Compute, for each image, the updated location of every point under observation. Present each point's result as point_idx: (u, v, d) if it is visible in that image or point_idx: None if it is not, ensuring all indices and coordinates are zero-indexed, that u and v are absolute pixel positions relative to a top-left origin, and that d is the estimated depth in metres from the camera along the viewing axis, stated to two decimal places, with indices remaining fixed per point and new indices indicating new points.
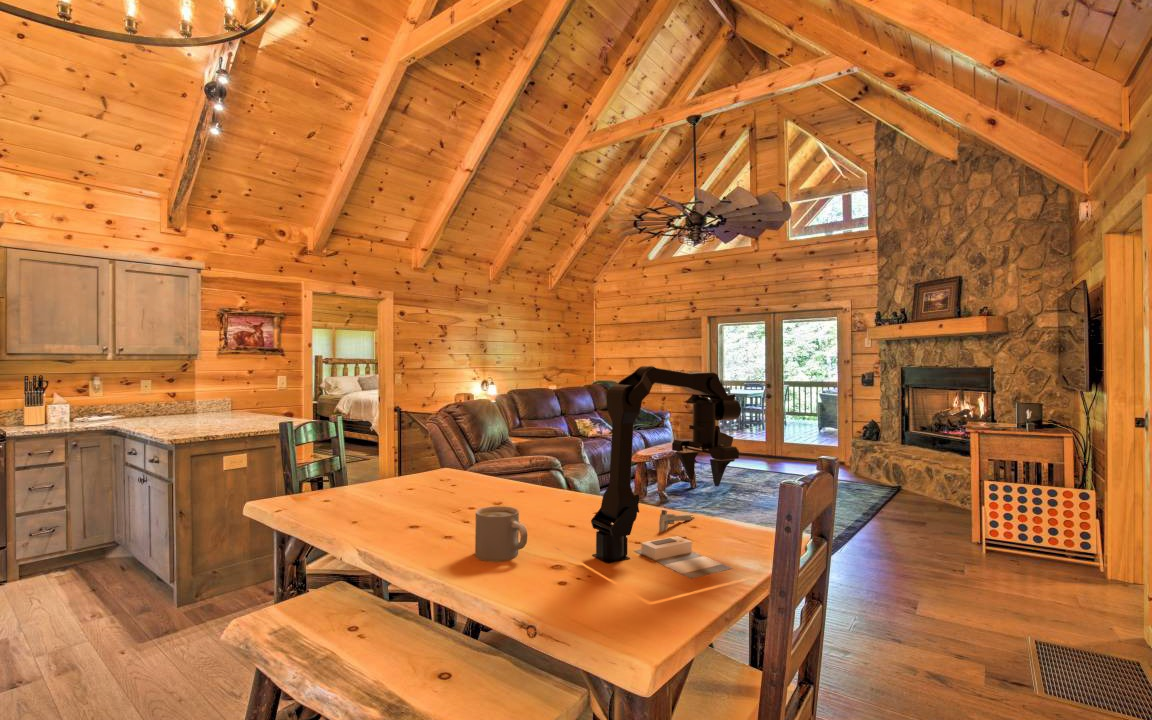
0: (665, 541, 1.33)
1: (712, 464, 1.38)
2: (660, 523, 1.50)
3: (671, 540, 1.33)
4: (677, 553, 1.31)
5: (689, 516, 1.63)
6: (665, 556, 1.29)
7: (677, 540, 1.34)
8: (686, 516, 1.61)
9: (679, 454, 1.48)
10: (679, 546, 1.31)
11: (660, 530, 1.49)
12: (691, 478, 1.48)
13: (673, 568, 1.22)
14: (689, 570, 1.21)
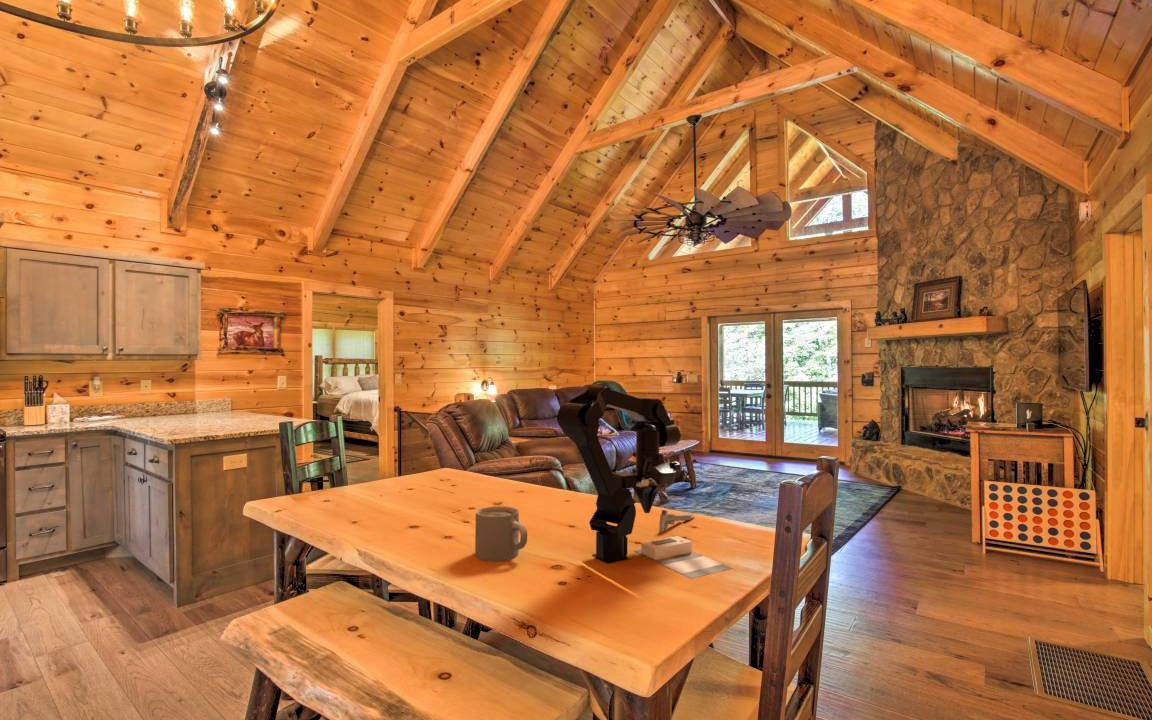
0: (665, 541, 1.33)
1: None
2: (660, 523, 1.50)
3: (671, 540, 1.33)
4: (677, 553, 1.31)
5: (689, 516, 1.63)
6: (665, 556, 1.29)
7: (677, 540, 1.34)
8: (686, 516, 1.61)
9: None
10: (679, 546, 1.31)
11: (660, 530, 1.50)
12: None
13: (673, 568, 1.22)
14: (689, 570, 1.21)
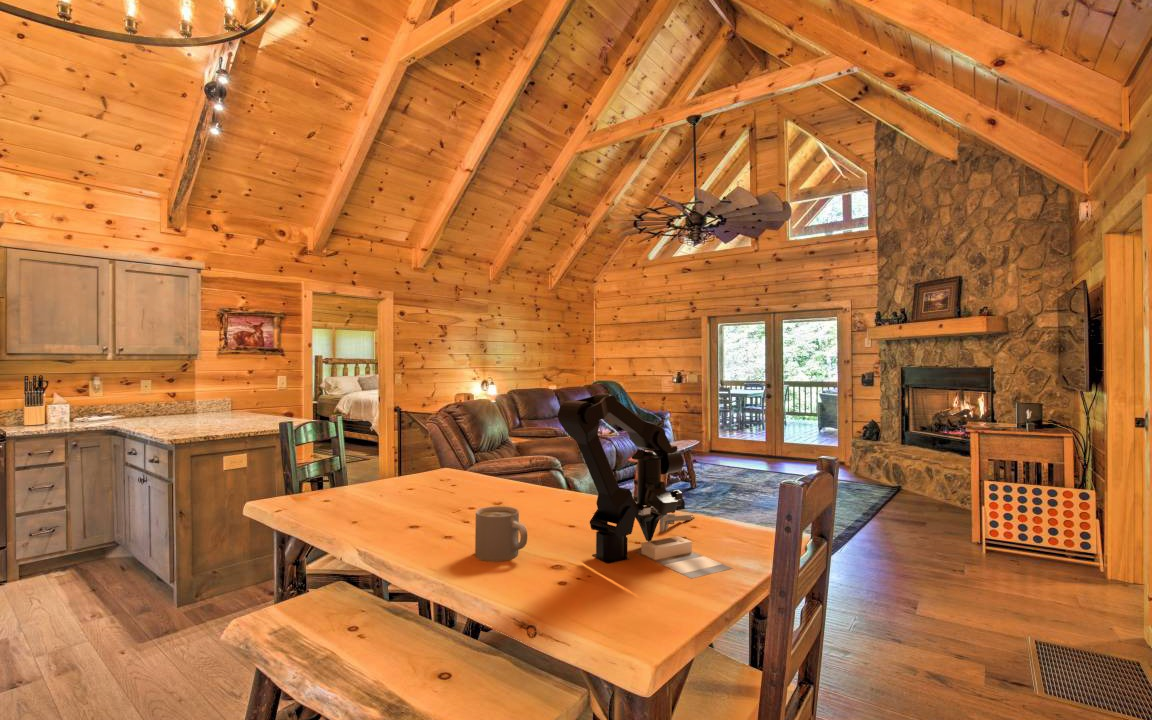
0: (665, 541, 1.33)
1: None
2: (660, 523, 1.50)
3: (671, 540, 1.33)
4: (677, 553, 1.31)
5: (689, 516, 1.63)
6: (665, 556, 1.29)
7: (677, 540, 1.34)
8: (686, 516, 1.61)
9: None
10: (679, 546, 1.31)
11: (660, 530, 1.50)
12: None
13: (673, 568, 1.22)
14: (689, 570, 1.21)
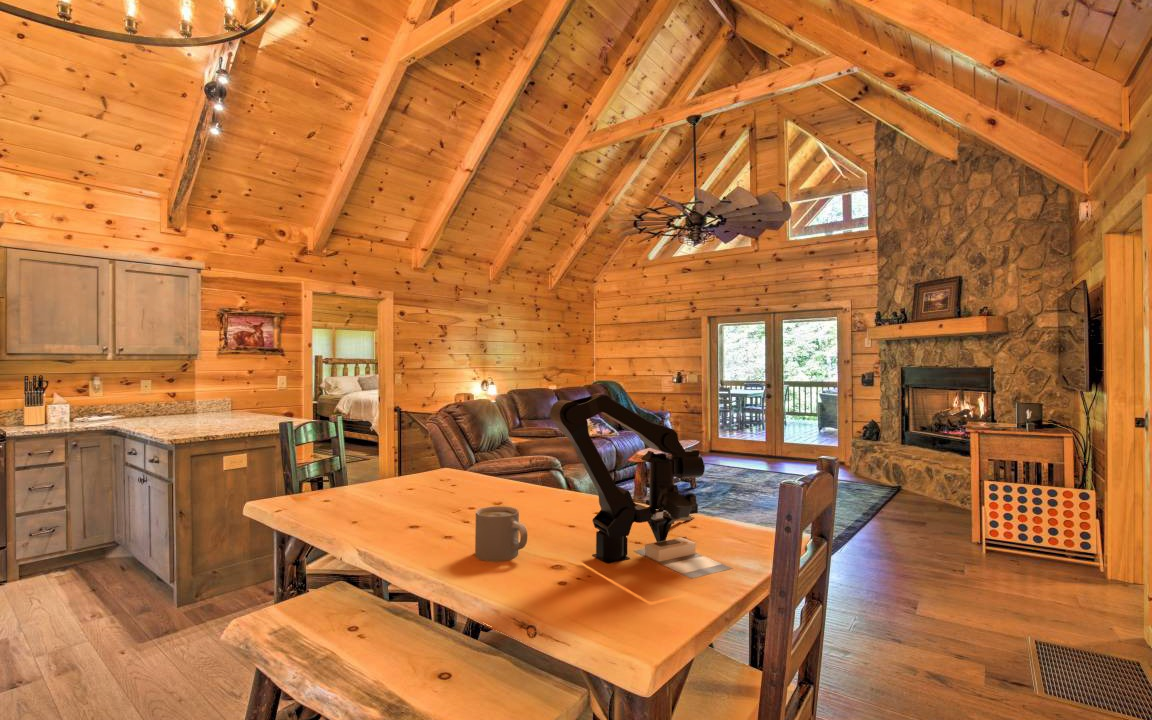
0: (669, 542, 1.32)
1: None
2: None
3: (675, 541, 1.32)
4: (681, 554, 1.30)
5: (689, 516, 1.63)
6: (669, 558, 1.28)
7: (681, 541, 1.33)
8: None
9: None
10: (683, 547, 1.30)
11: None
12: None
13: (673, 568, 1.22)
14: (689, 570, 1.21)
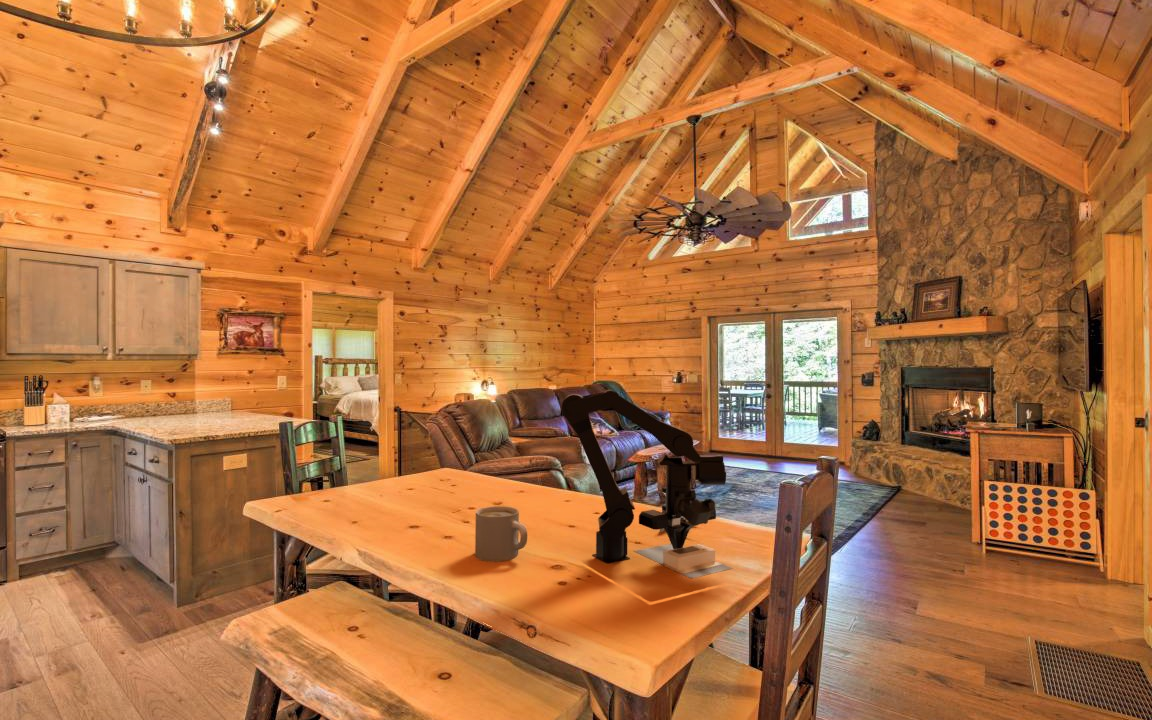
0: (688, 549, 1.27)
1: None
2: None
3: (694, 548, 1.27)
4: (701, 562, 1.25)
5: None
6: (689, 566, 1.23)
7: (700, 548, 1.28)
8: None
9: None
10: (703, 555, 1.25)
11: (660, 530, 1.50)
12: None
13: (673, 568, 1.22)
14: (689, 570, 1.21)
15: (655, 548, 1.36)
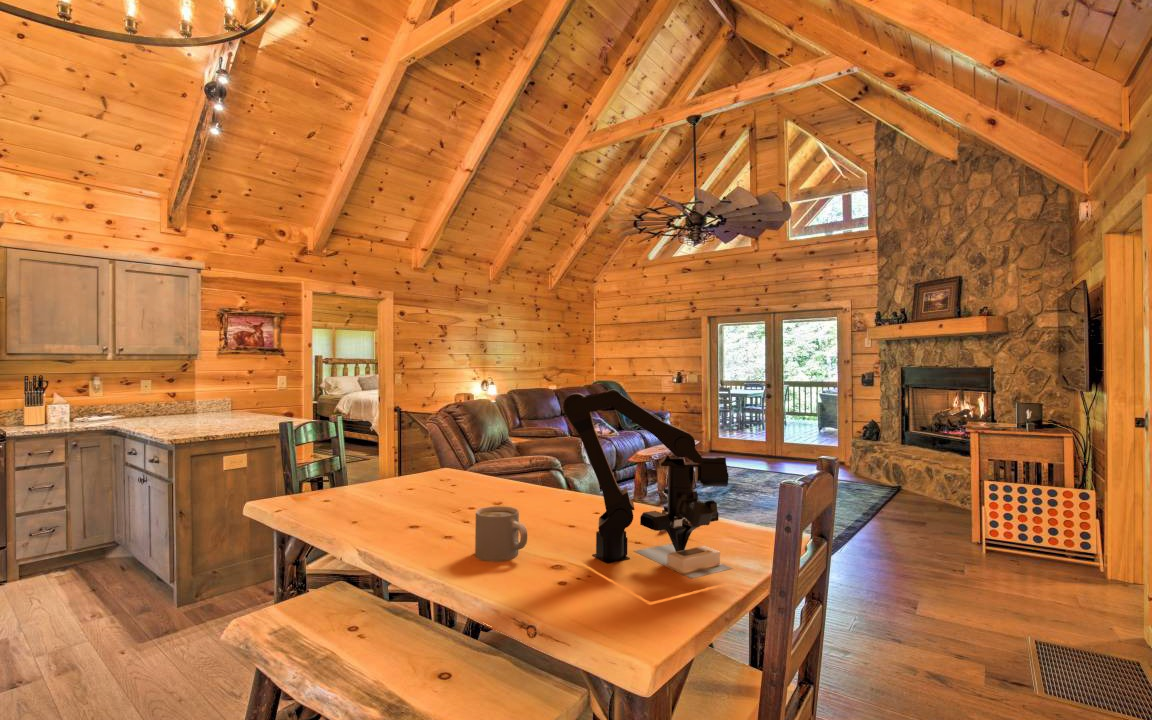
0: (692, 551, 1.25)
1: None
2: None
3: (698, 550, 1.26)
4: (705, 564, 1.24)
5: None
6: (693, 568, 1.22)
7: (704, 550, 1.27)
8: None
9: None
10: (708, 557, 1.24)
11: (661, 530, 1.50)
12: None
13: (673, 568, 1.22)
14: None
15: (655, 548, 1.36)
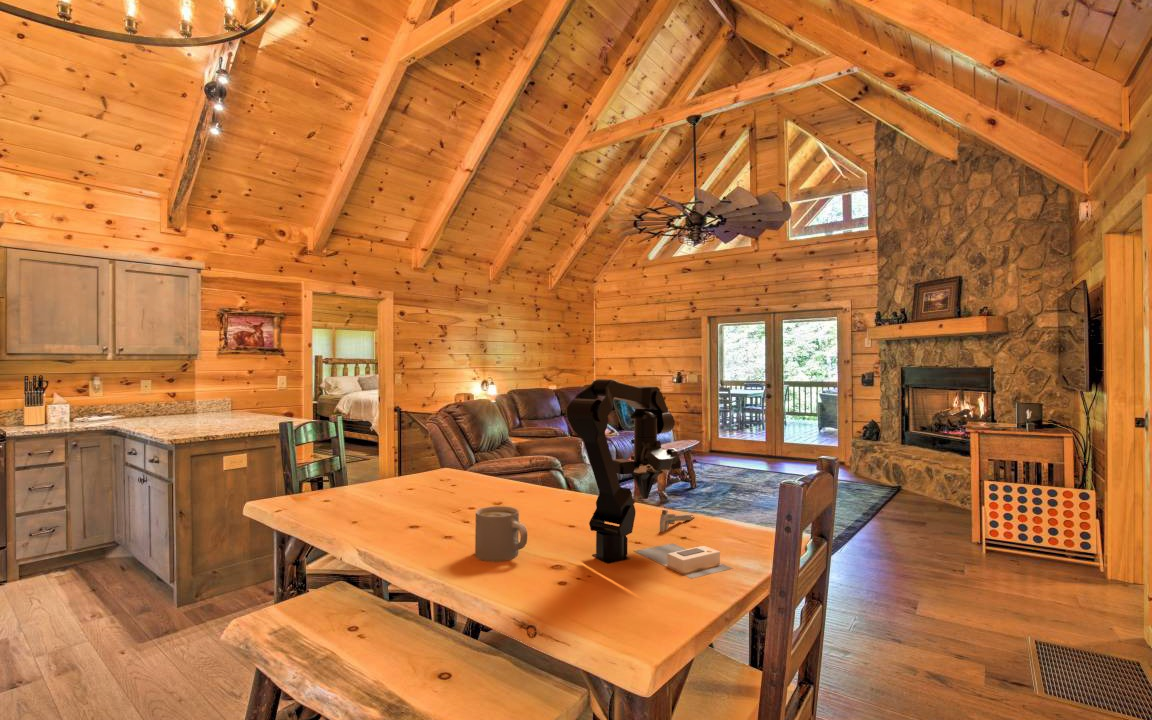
0: (692, 551, 1.25)
1: None
2: (661, 523, 1.50)
3: (698, 550, 1.26)
4: (705, 564, 1.24)
5: (689, 516, 1.63)
6: (693, 568, 1.22)
7: (704, 550, 1.27)
8: (686, 516, 1.61)
9: None
10: (708, 557, 1.24)
11: (661, 530, 1.50)
12: None
13: (673, 568, 1.22)
14: None
15: (655, 548, 1.36)
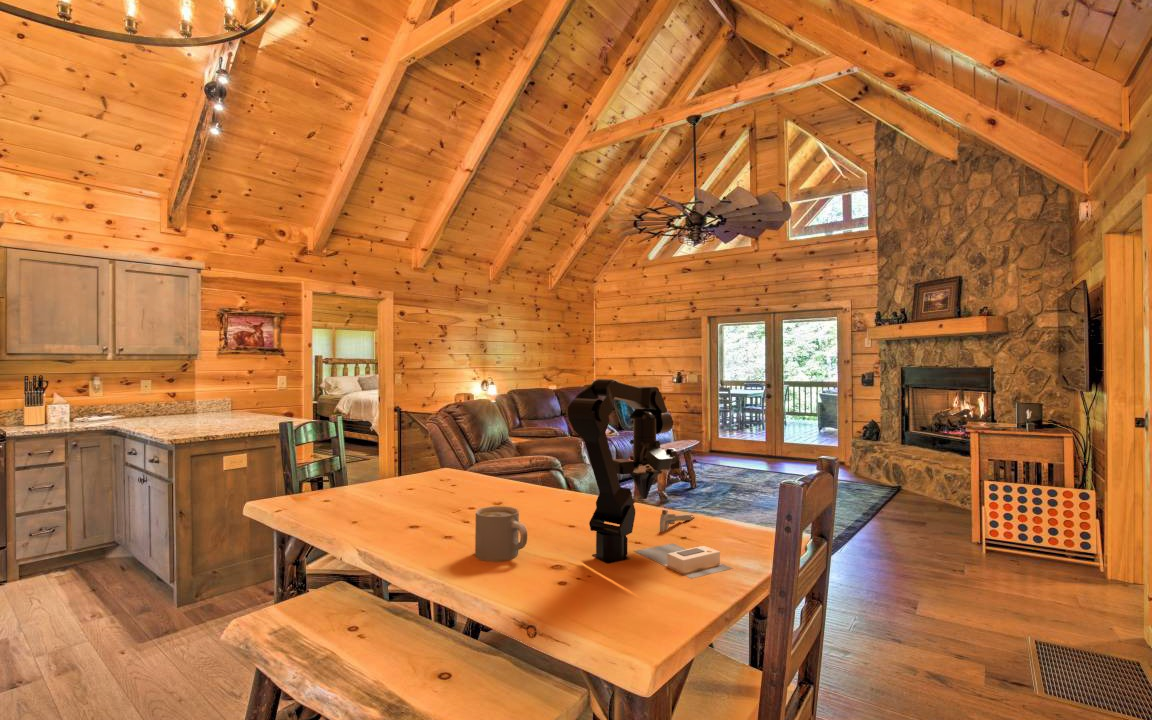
0: (692, 551, 1.25)
1: None
2: (661, 523, 1.50)
3: (698, 550, 1.26)
4: (705, 564, 1.24)
5: (689, 516, 1.63)
6: (693, 568, 1.22)
7: (704, 550, 1.27)
8: (686, 516, 1.61)
9: None
10: (708, 557, 1.24)
11: (661, 530, 1.50)
12: None
13: (673, 568, 1.22)
14: None
15: (655, 548, 1.36)
